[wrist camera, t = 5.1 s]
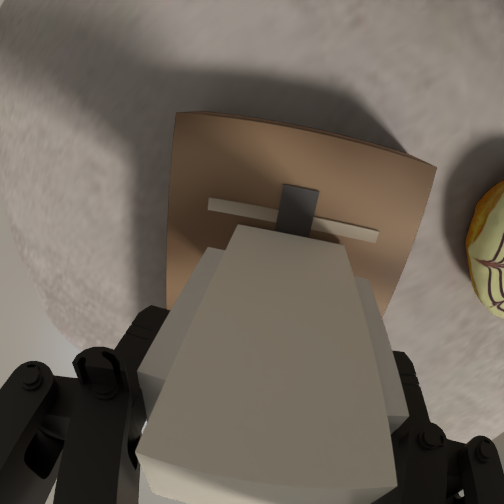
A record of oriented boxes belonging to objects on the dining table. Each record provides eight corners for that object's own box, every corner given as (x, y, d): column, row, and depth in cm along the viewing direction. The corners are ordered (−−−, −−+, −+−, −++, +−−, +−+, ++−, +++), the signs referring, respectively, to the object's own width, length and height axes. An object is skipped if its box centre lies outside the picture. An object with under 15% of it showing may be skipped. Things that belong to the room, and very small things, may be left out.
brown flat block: (201, 111, 16) (175, 112, 12) (408, 154, 15) (437, 167, 12) (185, 389, 27) (172, 422, 23) (307, 413, 26) (306, 448, 23)
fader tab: (237, 224, 14) (134, 452, 4) (344, 245, 14) (397, 486, 4) (230, 279, 15) (153, 493, 6) (327, 297, 15) (340, 520, 5)
